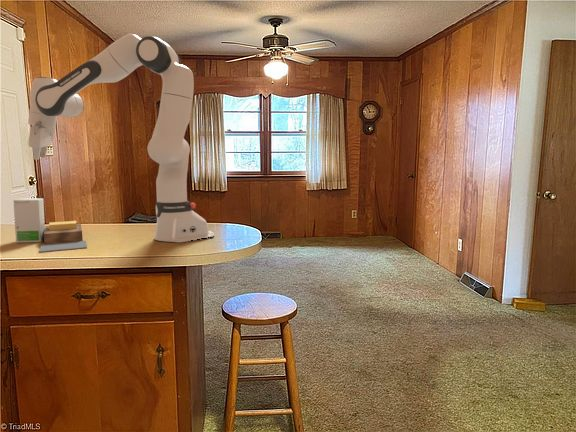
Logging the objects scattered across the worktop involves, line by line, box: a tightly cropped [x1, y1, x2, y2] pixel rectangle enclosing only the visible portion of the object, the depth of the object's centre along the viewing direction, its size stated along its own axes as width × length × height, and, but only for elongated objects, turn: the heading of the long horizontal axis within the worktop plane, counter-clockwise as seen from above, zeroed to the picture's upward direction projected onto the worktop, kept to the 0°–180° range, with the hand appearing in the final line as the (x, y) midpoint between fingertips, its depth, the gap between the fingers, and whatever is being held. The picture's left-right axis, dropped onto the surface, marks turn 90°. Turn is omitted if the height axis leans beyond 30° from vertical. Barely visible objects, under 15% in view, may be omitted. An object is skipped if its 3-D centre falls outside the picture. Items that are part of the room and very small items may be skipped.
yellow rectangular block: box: [48, 220, 78, 231], centre depth 154 cm, size 9×6×2 cm, turn 118°
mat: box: [39, 240, 88, 254], centre depth 142 cm, size 14×11×1 cm
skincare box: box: [13, 197, 46, 244], centre depth 150 cm, size 8×7×16 cm
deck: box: [43, 223, 84, 244], centre depth 154 cm, size 12×16×4 cm
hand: (39, 158), depth 156 cm, fingers open, 8 cm apart
